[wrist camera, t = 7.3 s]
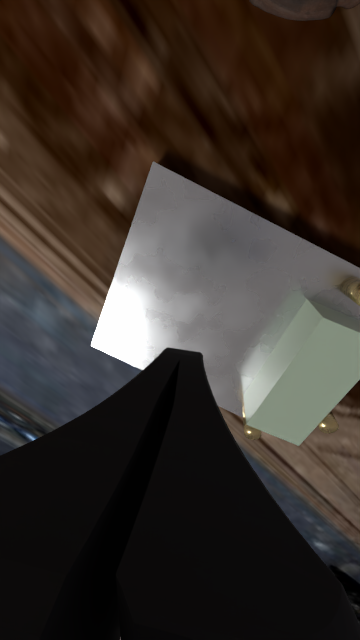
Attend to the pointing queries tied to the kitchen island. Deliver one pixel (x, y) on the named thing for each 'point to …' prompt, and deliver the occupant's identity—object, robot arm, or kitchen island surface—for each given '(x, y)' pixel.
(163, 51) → the kitchen island surface
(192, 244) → the chassis
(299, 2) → the pottery mug
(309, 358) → the pale green block
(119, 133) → the kitchen island surface
